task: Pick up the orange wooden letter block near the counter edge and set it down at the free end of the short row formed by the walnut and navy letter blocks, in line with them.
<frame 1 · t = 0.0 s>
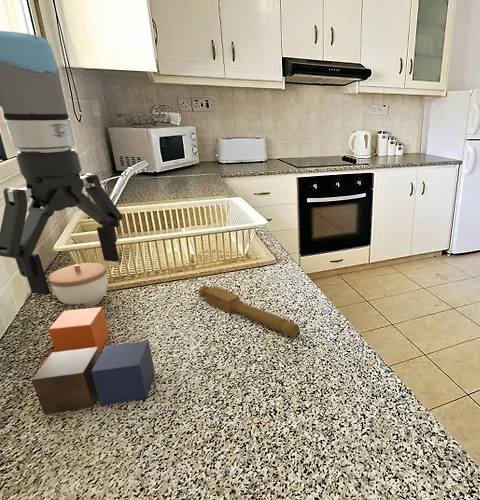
hand: (79, 275, 65), 16 cm above the countertop, tool pointing down, fingers open, 13 cm apart
orange block: (85, 346, 71), on the countertop
tap handle: (244, 315, 83), on the countertop
walnut block: (77, 395, 59), on the countertop
navy block: (129, 387, 61), on the countertop
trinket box: (86, 302, 87), on the countertop
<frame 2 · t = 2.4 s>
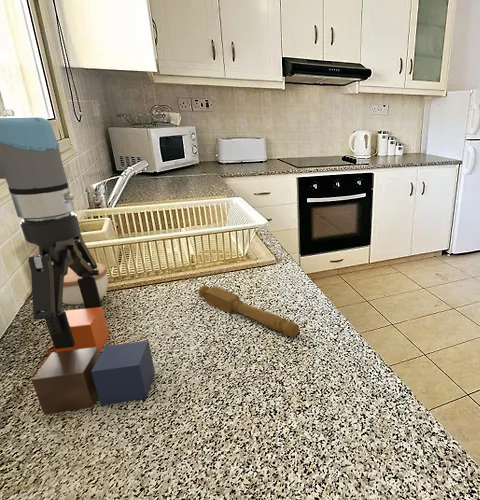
hand: (80, 325, 69), 5 cm above the countertop, tool pointing down, fingers open, 13 cm apart
nothing on the countertop moved.
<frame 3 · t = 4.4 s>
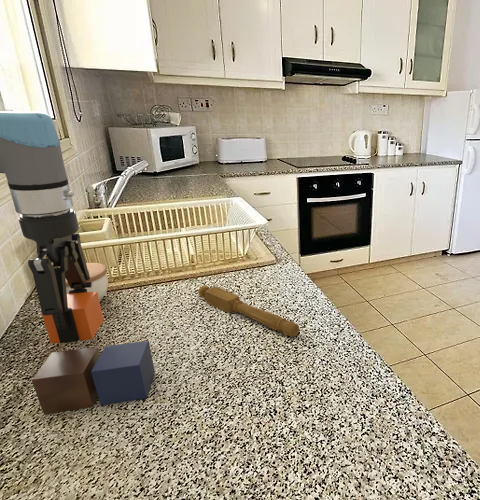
hand: (77, 329, 70), 4 cm above the countertop, tool pointing down, fingers closed on orange block, 6 cm apart
orange block: (78, 331, 70), point 3 cm above the countertop, touching gripper
everything else where it was.
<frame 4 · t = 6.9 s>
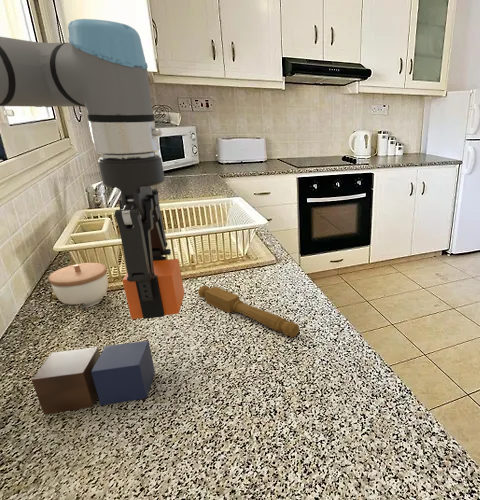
hand: (158, 304, 59), 14 cm above the countertop, tool pointing down, fingers closed on orange block, 6 cm apart
orange block: (159, 306, 59), point 14 cm above the countertop, touching gripper
everything else where it was.
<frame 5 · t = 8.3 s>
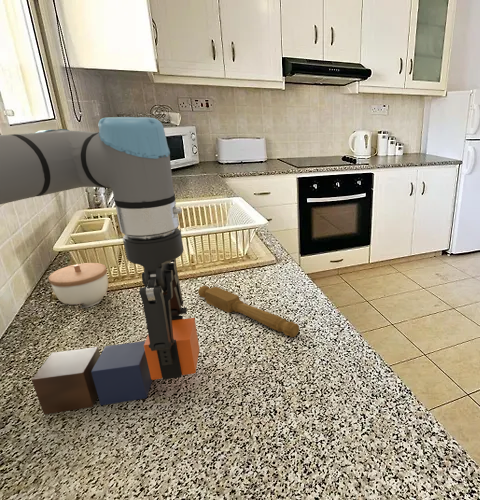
hand: (176, 362, 62), 4 cm above the countertop, tool pointing down, fingers closed on orange block, 6 cm apart
orange block: (176, 363, 62), point 3 cm above the countertop, touching gripper
everything else where it was.
when the fingers open (0 cm above the countertop, at t = 9.5 s): orange block stays where it is, on the countertop.
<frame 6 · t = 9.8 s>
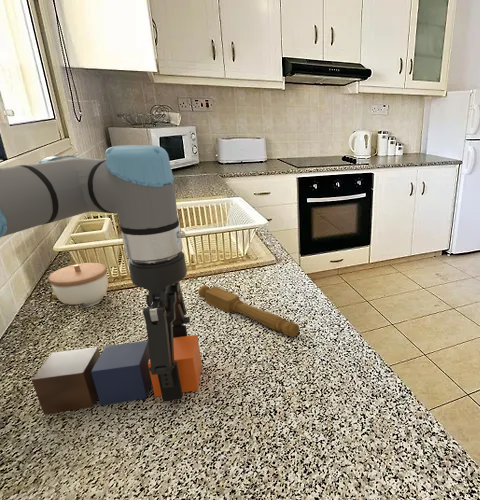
hand: (178, 376, 63), 1 cm above the countertop, tool pointing down, fingers open, 10 cm apart
orange block: (179, 380, 63), on the countertop
everything else where it was.
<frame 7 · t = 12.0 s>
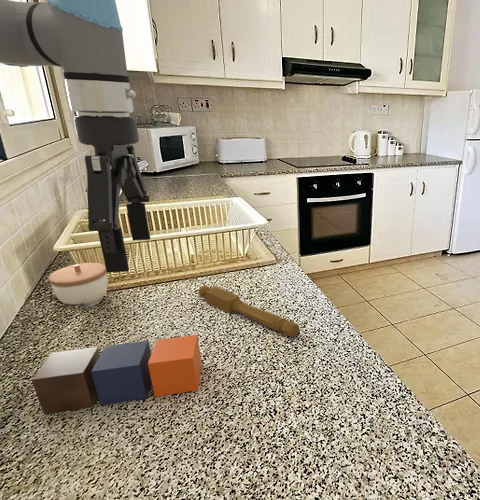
hand: (131, 253, 60), 21 cm above the countertop, tool pointing down, fingers open, 13 cm apart
nothing on the countertop moved.
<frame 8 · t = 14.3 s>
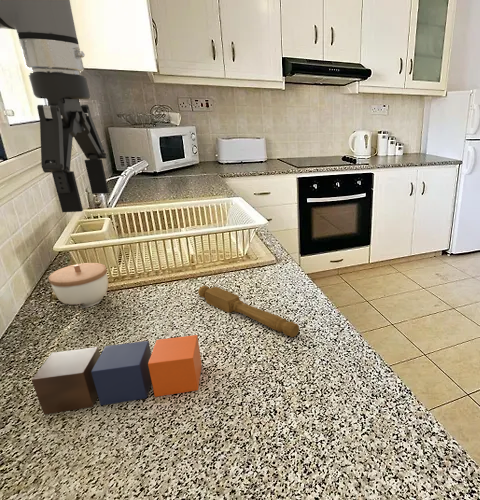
hand: (88, 201, 68), 27 cm above the countertop, tool pointing down, fingers open, 13 cm apart
nothing on the countertop moved.
at the end: orange block 0.0 cm from the target spot, on the countertop; orange block tilted 0°; navy block moved 0.0 cm from its start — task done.
